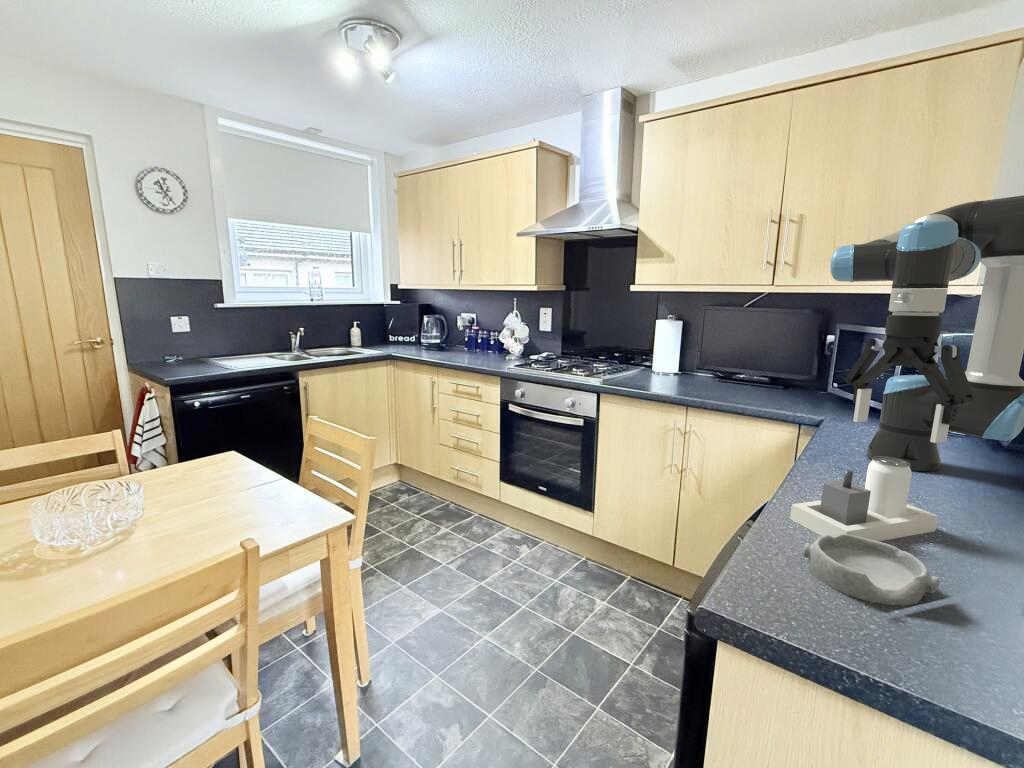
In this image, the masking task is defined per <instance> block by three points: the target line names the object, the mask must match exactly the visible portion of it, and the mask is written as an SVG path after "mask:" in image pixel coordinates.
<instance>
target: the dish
mask: <svg viewBox="0 0 1024 768" xmlns="http://www.w3.org/2000/svg"><path fill="white" fill-rule="evenodd" d="M802 555H803V557H804V558H806V559H808V567H809V568H808V569H809V571H811V573H812V574H813V576H814V577H816V578H817V579H818V580H819V581H821V582H822V583H823V584H824V585H826V586H828V587H830V588H832V589H834V590H836V591H837V592H840V593H842V594H844V595H847V596H848V597H849V596H850V597H852V598H856V599H857V600H858V599H859V600H862V601H865V602H869V603H875V604H880V605H889V606H910V605H911V606H912V605H915V604H918V603H920V601H921V600H923V599H922V598H923V596H924V595H925V594H926V593H927V592H928V593H931V594H935V593H936V591H937V590H938V588H939V585H940V579H939V577H938V576H933V575H931V574H930V573H929V571H928V568H927V567H926V565H925V564H924V563H923V561H921V560H920V559H919V558H917V557H916V556H914V555H913V554H912V553H910V552H908V551H904V550H901V549H900V548H898V547H897V546H894V545H892V544H888V543H886V542H885V543H884V542H883V541H874V540H870V539H866V538H862V537H858V536H853V535H848V534H840V535H837V536H830V535H825V536H820V537H818V538H817V539H816V540H815V541H814V542H813V543H809V542H807V543H805V545H804V547H803V550H802Z"/></svg>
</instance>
